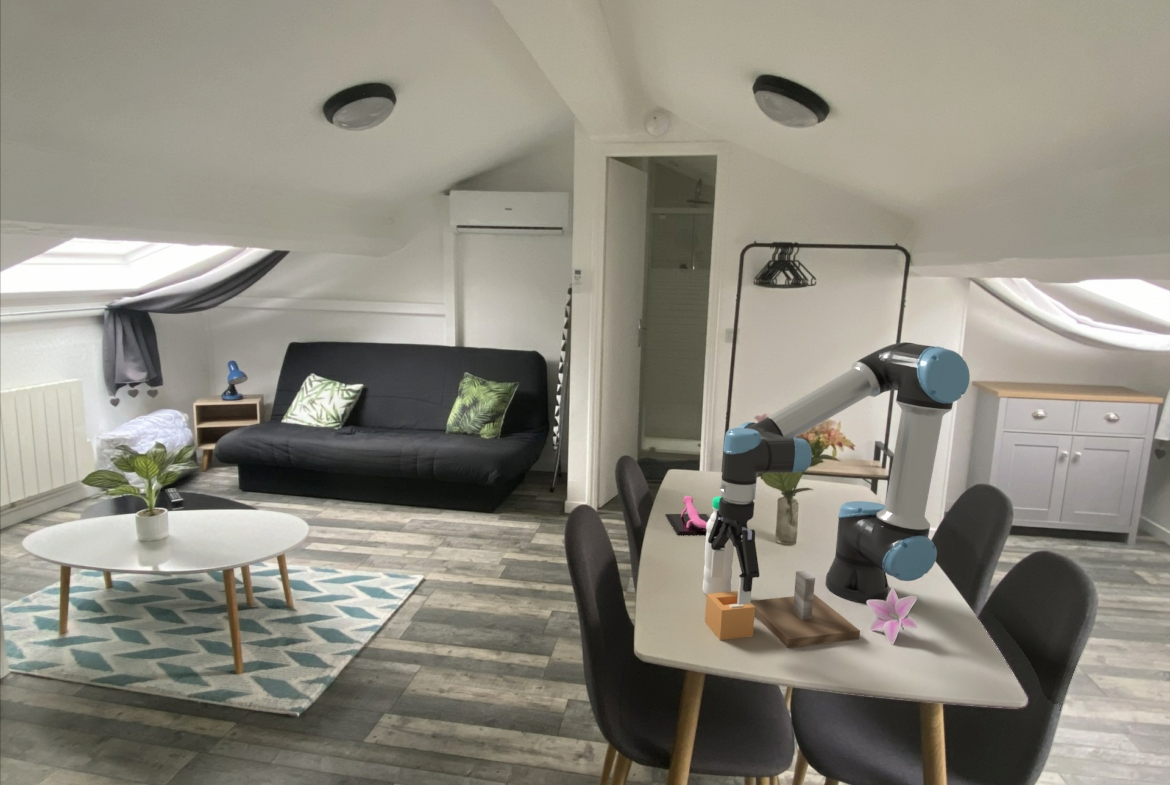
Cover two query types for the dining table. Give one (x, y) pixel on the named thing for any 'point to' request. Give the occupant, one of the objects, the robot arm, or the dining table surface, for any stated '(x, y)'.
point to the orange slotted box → (729, 616)
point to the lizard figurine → (689, 520)
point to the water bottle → (717, 582)
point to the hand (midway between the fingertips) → (729, 589)
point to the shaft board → (803, 628)
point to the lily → (892, 614)
